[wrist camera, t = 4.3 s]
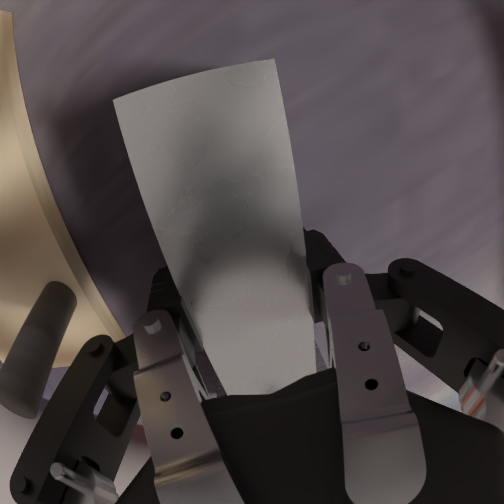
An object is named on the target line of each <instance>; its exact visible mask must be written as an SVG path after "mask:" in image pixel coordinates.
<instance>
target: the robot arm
mask: <svg viewBox="0 0 504 504" xmlns="http://www.w3.org/2000/svg"><path fill="white" fill-rule="evenodd" d="M303 233H304V241H305V249H306V258H307V264H306V271H307V280H308V290H309V300H310V310H311V316H312V318H313V321H314V323H318V322H321V321H323V322H324V324H325V328H326V342H327V352H328V363H329V369H326V370H323V371H320V372H317V373H314V374H310V375H307V376H304V377H303V378H301V379H299V380H297V381H295V382H293V383H291V384H290V385H288V386H286V387H284V388H282V389H280V390H278V391H276V392H274V393H271V394H259V395H228V396H223V397H218V398H212V399H211V397H210V395H209V393H208V391H207V388H206V386H205V384H204V381H203V379H202V376H201V374H200V372H199V369H198V367H197V365H196V363H195V353H199V352H203V342H202V340H201V338H200V336H199V333H198V331H197V329H196V327H195V325H194V322H193V320H192V318H191V316H190V313H189V311H188V309H187V307H186V304H185V302H184V300H183V297H182V296H180V294H179V292H178V290H177V287H176V285H175V283H174V280H173V278H172V275H171V273H170V270H169V268H168V265H167V266H166V267H164V268H160V269H159V270H158V272H157V273H156V274H155V276H154V277H153V282H152V287H151V293H150V297H149V302H148V308H147V313H145V314H144V315H142V316H141V317H140V318H139V319H138V320H137V321H136V322H135V324H134V326H133V334H132V335H130V336H128V337H126V338H123V339H121V340H119V341H117V342H115V343H114V341H113V340H112V338H111V337H110V336H108V335H105V334H101V335H97V336H94V337H92V338H91V339H89V340H88V341H87V342H86V343H85V344H84V345H83V346H82V348H81V349H80V351H79V353H78V354H77V356H76V357H75V359H74V360H73V362H72V364H71V365H70V367H69V368H68V370H67V372H66V373H65V375H64V377H63V378H62V380H61V382H60V383H59V385H58V387H57V388H56V390H55V392H54V394H53V395H52V397H51V399H50V401H49V402H48V405H47V406H46V408H45V410H44V412H43V413H42V415H41V417H40V419H39V421H38V423H37V424H36V426H35V428H34V430H33V432H32V434H31V436H30V438H29V440H28V442H27V444H26V446H25V448H24V450H23V452H22V454H21V456H20V458H19V460H18V463H17V465H16V467H15V469H14V471H13V474H12V476H11V479H10V492H11V495H12V497H13V499H14V500H15V502H17V504H504V310H503V309H502V308H500V307H498V306H497V305H495V304H493V303H492V302H490V301H488V300H487V299H485V298H483V297H482V296H480V295H478V294H477V293H475V292H473V291H472V290H470V289H468V288H466V287H465V286H463V285H461V284H459V283H458V282H456V281H454V280H452V279H451V278H449V277H447V276H445V275H443V274H442V273H440V272H438V271H436V270H434V269H432V268H430V267H429V266H427V265H425V264H423V263H421V262H419V261H417V260H414V259H410V258H402V259H397V260H395V261H393V262H392V263H390V265H389V267H388V273H380V274H365V273H364V271H363V269H362V268H361V267H359V266H358V265H355V264H352V263H346V262H345V260H344V259H343V258H342V257H341V255H340V254H339V253H338V252H337V250H336V249H335V248H334V247H333V246H332V244H331V243H330V242H329V241H328V239H327V238H326V237H325V236H324V234H322V233H320V232H318V231H316V230H310V231H306V230H305V228H304V227H303ZM420 309H421V310H422V311H424V312H425V313H427V314H428V315H430V316H431V317H433V318H434V319H436V320H437V321H439V322H440V324H441V325H442V327H443V331H442V330H441V329H439V328H438V327H436V326H435V325H433V324H432V323H430V322H429V321H427V320H426V319H424V318H423V317H421V316H420V315H419V312H420ZM394 344H395V345H397V346H398V347H399V348H401V349H402V350H403V351H405V352H406V353H407V354H408V355H410V356H411V357H412V358H414V359H415V360H416V361H418V362H419V363H420V364H421V365H423V366H424V367H425V368H427V369H428V370H429V371H430V372H432V373H433V374H434V375H436V376H437V377H438V378H439V379H441V380H442V381H443V382H445V383H446V384H447V385H448V386H450V387H451V388H452V389H454V390H455V391H456V392H457V393H459V401H460V403H461V410H462V412H463V413H462V412H459V411H456V410H454V409H451V408H449V407H446V406H444V405H441V404H439V403H436V402H434V401H432V400H429V399H427V398H424V397H422V396H420V395H417V394H415V393H413V392H410V391H408V390H406V388H405V384H404V380H403V376H402V372H401V368H400V364H399V361H398V357H397V354H396V350H395V347H394ZM104 388H105V389H106V390H107V391H108V392H109V394H108V396H107V398H106V400H105V402H104V404H103V406H102V408H101V410H100V412H99V414H98V417H97V419H96V420H95V418H94V415H93V411H94V407H95V405H96V403H97V401H98V399H99V397H100V395H101V393H102V391H103V389H104ZM140 414H141V417H142V422H143V426H144V430H145V434H146V438H147V442H148V446H149V450H150V453H151V457H150V458H149V459H148V461H147V462H146V463H145V465H144V466H143V467H142V469H141V470H140V471H139V472H138V474H137V475H136V476H135V478H134V479H133V480H132V482H131V483H130V484H129V486H128V487H127V488H126V490H125V491H124V492H123V493H122V495H121V496H120V497H119V495H118V494H117V493H116V489H115V485H114V483H113V482H114V479H115V477H116V474H117V471H118V469H119V466H120V464H121V461H122V458H123V456H124V454H125V451H126V449H127V446H128V444H129V441H130V439H131V436H132V434H133V431H134V429H135V426H136V424H137V422H138V419H139V417H140Z"/></svg>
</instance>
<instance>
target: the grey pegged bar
mask: <svg viewBox="0 0 504 504" xmlns="http://www.w3.org/2000/svg"><path fill="white" fill-rule="evenodd" d="M113 103H114V107H115V110H116V114H117V118H118V122H119V125H120V129H121V132H122V136H123V139H124V143H125V146H126V149H127V153H128V156H129V159H130V162H131V165H132V169H133V172H134V175H135V178H136V181H137V184H138V187H139V190H140V193H141V196H142V199H143V202H144V204H145V207H146V210H147V213H148V216H149V218H150V221H151V224H152V227H153V229H154V232H155V235H156V237H157V240H158V243H159V245H160V248H161V250H162V253H163V255H164V258H165V260H166V263H167V265H168V268H169V270H170V273H171V275H172V278H173V280H174V283H175V285H176V287H177V290H178V292H179V294H180V296H182V297H183V300H184V302H185V304H186V307H187V309H188V311H189V313H190V316H191V318H192V320H193V322H194V325H195V327H196V329H197V331H198V333H199V336H200V338H201V340H202V342H203V347H204V349H205V351H206V354H207V356H208V358H209V360H210V362H211V364H212V366H213V368H214V372H215V382H216V392H217V398H218V397H223V396H228V395H259V394H271V393H274V392H276V391H278V390H280V389H282V388H284V387H286V386H288V385H290V384H291V383H293V382H295V381H297V380H299V379H301V378H303V377H304V376H307V375H310V374H314V373H317V372H320V371H323V370H326V369H327V367H326V364H325V362H324V360H323V357H322V355H321V353H320V351H319V348H318V346H317V344H316V341H315V339H314V330H313V318H312V316H311V310H310V300H309V290H308V280H307V271H306V264H307V258H306V249H305V241H304V233H303V225H302V217H301V210H300V203H299V196H298V189H297V182H296V175H295V169H294V162H293V156H292V150H291V144H290V138H289V132H288V127H287V121H286V116H285V110H284V105H283V99H282V94H281V89H280V84H279V79H278V74H277V69H276V65H275V60H274V59H268V60H261V61H255V62H248V63H242V64H237V65H232V66H226V67H222V68H217V69H212V70H208V71H204V72H199V73H195V74H191V75H187V76H184V77H180V78H176V79H173V80H169V81H166V82H163V83H159V84H156V85H153V86H150V87H147V88H144V89H141V90H138V91H135V92H132V93H130V94H127V95H124V96H122V97H119V98H116V99H114V100H113Z"/></svg>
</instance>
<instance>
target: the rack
mask: <svg viewBox="0 0 504 504" xmlns="http://www.w3.org/2000/svg"><path fill="white" fill-rule="evenodd" d="M101 334H105V335H108V336H110V337H111V338H112V340H113V341H114V343H115V342H117V341H119V340H121V339H123V338H126V336H125V335H124V333H123V332H122V330H121V328H120V327H119V325H118V324H117V322H116V320H115V319H114V317H113V315H112V314H111V312H110V310H109V309H108V307H107V305H106V304H105V302H104V300H103V298H102V297H101V295H100V293H99V291H98V290H97V288H96V286H95V284H94V282H93V280H92V279H91V277H90V275H89V273H88V271H87V269H86V267H85V265H84V263H83V261H82V259H81V257H80V255H79V253H78V251H77V249H76V247H75V245H74V243H73V241H72V239H71V236H70V234H69V232H68V230H67V228H66V225H65V223H64V221H63V218H62V216H61V214H60V211H59V209H58V206H57V204H56V202H55V199H54V196H53V194H52V191H51V189H50V186H49V183H48V181H47V178H46V175H45V172H44V169H43V166H42V163H41V160H40V157H39V154H38V151H37V148H36V144H35V141H34V138H33V134H32V131H31V127H30V123H29V119H28V115H27V111H26V107H25V103H24V98H23V94H22V89H21V84H20V78H19V72H18V66H17V60H16V52H15V44H14V34H13V21H12V13H10V12H7V11H3V10H0V360H1V361H2V362H3V363H4V364H3V366H2V368H1V370H0V403H1V404H2V405H3V406H4V407H5V408H7V409H8V410H10V411H11V412H13V413H15V414H17V415H19V416H21V417H24V418H28V419H34V418H36V417H37V413H38V410H39V406H40V403H41V399H42V396H43V393H44V390H45V386H46V383H47V380H48V377H49V374H50V371H51V369H52V368H55V367H64V366H70V365H71V364H72V362H73V360H74V359H75V357H76V356H77V354H78V353H79V351H80V349H81V348H82V346H83V345H84V344H85V343H86V342H87V341H88V340H89V339H91V338H92V337H94V336H97V335H101Z"/></svg>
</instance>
